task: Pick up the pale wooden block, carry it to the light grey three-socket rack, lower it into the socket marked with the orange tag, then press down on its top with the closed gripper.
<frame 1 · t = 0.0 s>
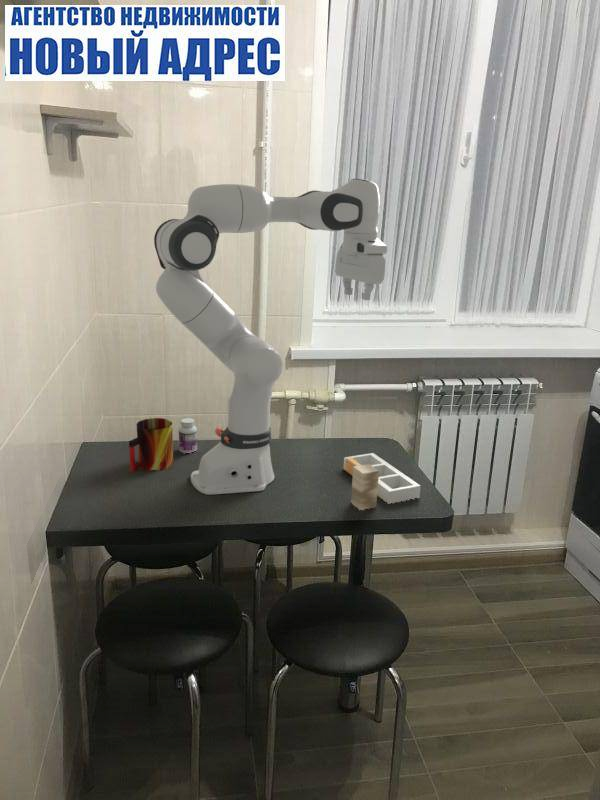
hand: (356, 297, 172), 48 cm above the table, tool pointing down, fingers open, 8 cm apart
wooden block: (363, 505, 160), on the table
pill bottle: (188, 451, 191), on the table
mug: (154, 467, 179), on the table
rack: (379, 482, 174), on the table
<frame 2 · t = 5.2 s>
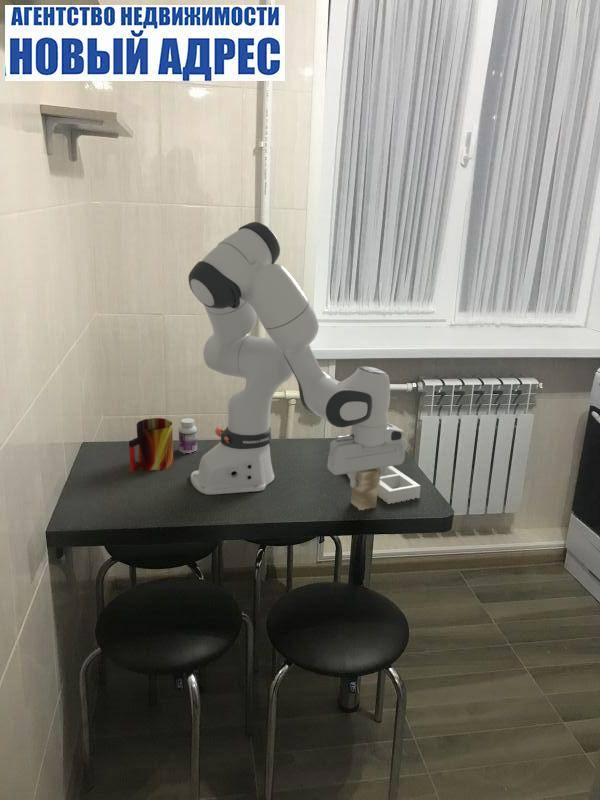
hand: (364, 484, 159), 6 cm above the table, tool pointing down, fingers closed on wooden block, 5 cm apart
wooden block: (363, 505, 160), on the table, touching gripper
everything else where it was.
when the fingers open (7 cm above the table, at t = 13.7 s): wooden block drops 1 cm, resting in rack.
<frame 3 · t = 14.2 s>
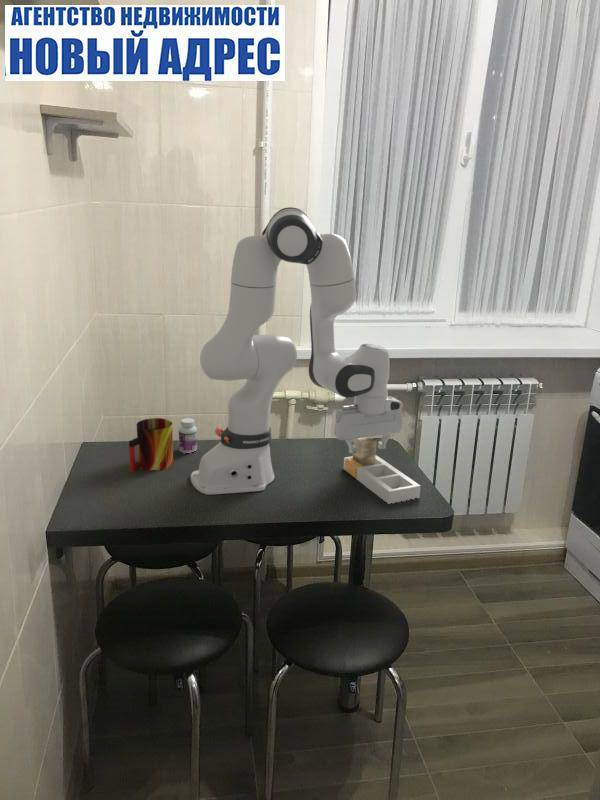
hand: (367, 450, 178), 7 cm above the table, tool pointing down, fingers open, 8 cm apart
wooden block: (363, 471, 181), resting in rack
everything else where it was.
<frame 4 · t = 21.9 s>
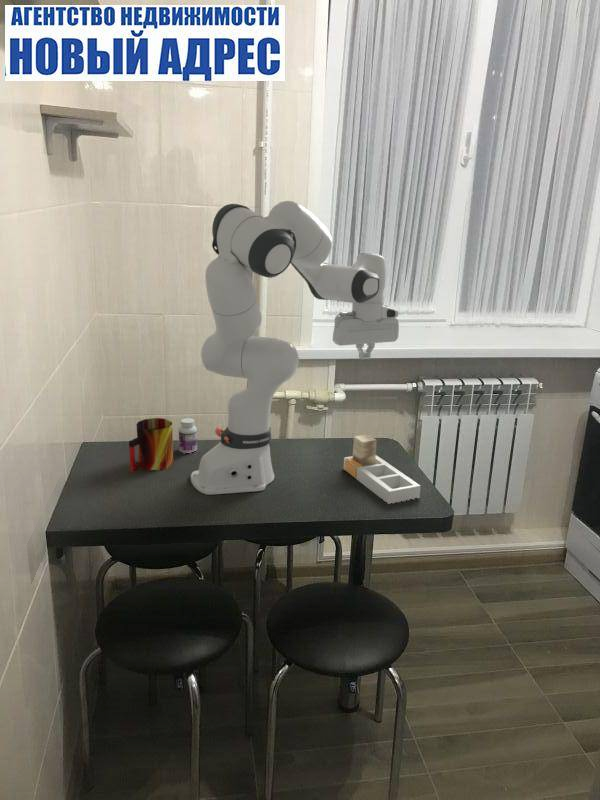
hand: (364, 358, 186), 29 cm above the table, tool pointing down, fingers closed
nothing on the table moved.
at the end: wooden block 0.9 cm from the target spot on the rack, point 0.0 cm above the rack's base; wooden block tilted 0°; the gripper is holding nothing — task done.
